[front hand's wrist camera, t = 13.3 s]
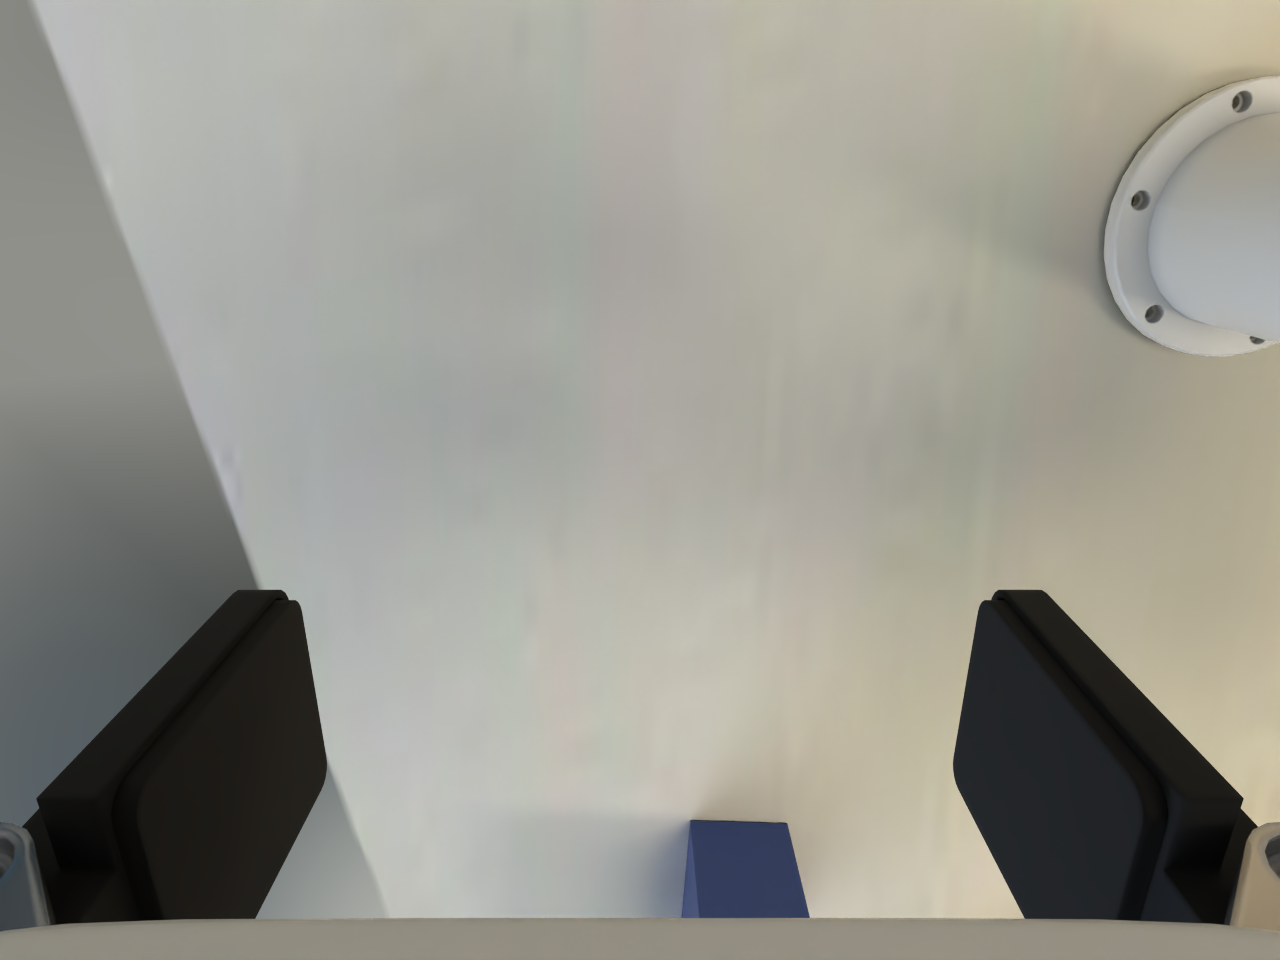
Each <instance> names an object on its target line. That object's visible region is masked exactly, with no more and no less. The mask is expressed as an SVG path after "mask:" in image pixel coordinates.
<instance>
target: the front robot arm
mask: <svg viewBox="0 0 1280 960" xmlns="http://www.w3.org/2000/svg"><path fill="white" fill-rule="evenodd" d="M1232 101H1233V104H1232ZM1133 196H1134V202H1133V203H1132V204H1131V201H1132V197H1133ZM1104 261H1105V268H1106V275H1107V280H1108V283H1109V286H1110V289H1111V291H1112V294H1113V297H1114V300H1115V302H1116V303H1117V305H1118V306H1119V308H1120V309H1121V311H1122V313H1123V314H1124V316H1125V317H1126V319H1127V320H1128V321H1129V322H1130V323H1131V324H1132V325H1133V326H1134V327H1136V328H1137V329H1138V330H1139V331H1140V332H1141V333H1142V334H1143V335H1145V336H1147V337H1148V338H1150V339H1152V340H1153V341H1155V342H1157V343H1159V344H1160V345H1163V346H1166V347H1169V348H1172V349H1174V350H1177V351H1180V352H1183V353H1188V354H1193V355H1198V356H1203V357H1229V356H1234V355H1239V354H1245V353H1250V352H1254V351H1257V350H1260V349H1263V348H1265V347H1268V346H1271V345H1274V344H1276V343H1279V344H1280V75H1276V76H1266V77H1258V78H1253V79H1248V80H1243V81H1239V82H1234V83H1231V84H1229V85H1226V86H1224V87H1221V88H1219V89H1216V90H1214V91H1211V92H1209V93H1206V94H1205V95H1203V96H1202V97H1200V98H1198V99H1197V100H1195V101H1193V102H1192V103H1190V104H1188V105H1187V106H1185V107H1184V108H1182V109H1181V110H1179V111H1178V112H1177V113H1176V114H1175V115H1174V116H1172V117H1171V118H1170V119H1169V120H1168V121H1167V122H1165V123H1164V124H1163V125H1162V126H1161V127H1160V128H1158V129H1157V131H1156V132H1155V133H1154V134H1153V135H1152V136H1151V138H1150V139H1149V140H1148V141H1147V142H1146V143H1145V145H1144V146H1143V147H1142V148H1141V149H1140V150H1139V152H1138V153H1137V155H1136V156H1135V158H1134V159H1133V161H1132V163H1131V164H1130V166H1129V167H1128V169H1127V171H1126V172H1125V174H1124V176H1123V177H1122V180H1121V182H1120V184H1119V187H1118V189H1117V191H1116V194H1115V196H1114V199H1113V201H1112V203H1111V208H1110V212H1109V216H1108V220H1107V224H1106V228H1105V242H1104ZM1147 310H1148V312H1147V313H1146V311H1147ZM326 771H327V759H326V752H325V746H324V740H323V734H322V729H321V723H320V717H319V711H318V705H317V699H316V693H315V687H314V681H313V675H312V669H311V663H310V657H309V651H308V645H307V639H306V633H305V627H304V621H303V615H302V610H301V607H300V605H299V603H298V602H297V601H296V600H289V599H288V597H287V595H286V593H285V592H284V591H282V590H238V591H236V592H235V593H233V594H232V595H231V596H230V597H229V598H228V599H227V600H226V602H225V603H224V604H223V605H222V606H221V607H220V608H219V609H218V610H217V611H216V612H215V613H214V614H213V615H212V616H211V617H210V618H209V619H208V620H207V621H206V622H205V623H204V624H203V626H202V627H201V628H200V629H199V630H198V631H197V632H196V633H195V634H194V635H193V636H192V637H191V638H190V639H189V640H188V641H187V642H186V643H185V644H184V645H183V646H182V647H181V648H180V649H179V650H178V652H177V653H176V654H175V655H174V656H173V657H172V658H171V659H170V660H169V661H168V662H167V663H166V664H165V665H164V666H163V667H162V668H161V669H160V670H159V671H158V672H157V673H156V674H155V676H154V677H153V678H152V679H151V680H150V681H149V682H148V683H147V684H146V685H145V686H144V687H143V688H142V689H141V690H140V691H139V692H138V693H137V694H136V695H135V696H134V697H133V698H132V699H131V701H130V702H129V703H128V704H127V705H126V706H125V707H124V708H123V709H122V710H121V711H120V712H119V713H118V714H117V715H116V716H115V717H114V718H113V719H112V720H111V721H110V722H109V723H108V724H107V726H106V727H105V728H104V729H103V730H102V731H101V732H100V733H99V734H98V735H97V736H96V737H95V738H94V739H93V740H92V741H91V742H90V743H89V744H88V745H87V746H86V747H85V748H84V749H83V750H82V752H81V753H80V754H79V755H78V756H77V757H76V758H75V759H74V760H73V761H72V762H71V763H70V764H69V765H68V766H67V767H66V768H65V769H64V770H63V771H62V772H61V773H60V774H59V776H58V777H57V778H56V779H55V780H54V781H53V782H52V783H51V784H50V785H49V786H48V787H47V788H46V789H45V790H44V791H43V792H42V793H41V794H40V795H39V796H38V797H37V802H38V805H39V809H38V810H37V812H36V813H35V814H34V815H33V816H32V817H31V818H30V819H29V820H28V821H27V822H26V823H25V824H24V825H23V826H22V827H20V826H18V825H16V824H14V823H4V822H0V960H1280V822H1276V823H1266V824H1264V825H1262V826H1260V827H1258V826H1257V825H1256V824H1255V823H1254V822H1253V821H1252V820H1251V819H1250V818H1249V817H1248V816H1247V815H1246V814H1245V813H1244V811H1243V810H1242V809H1241V805H1242V802H1243V799H1244V798H1243V797H1242V796H1241V795H1240V794H1239V793H1238V792H1237V791H1236V790H1235V789H1234V788H1233V787H1232V786H1231V785H1230V784H1229V783H1228V782H1227V781H1226V780H1225V779H1224V778H1223V777H1222V775H1221V774H1220V773H1219V772H1218V771H1217V770H1216V769H1215V768H1214V767H1213V766H1212V765H1211V764H1210V763H1209V762H1208V761H1207V760H1206V759H1205V758H1204V757H1203V756H1202V755H1201V754H1200V753H1199V752H1198V750H1197V749H1196V748H1195V747H1194V746H1193V745H1192V744H1191V743H1190V742H1189V741H1188V740H1187V739H1186V738H1185V737H1184V736H1183V735H1182V734H1181V733H1180V732H1179V731H1178V730H1177V729H1176V728H1175V727H1174V725H1173V724H1172V723H1171V722H1170V721H1169V720H1168V719H1167V718H1166V717H1165V716H1164V715H1163V714H1162V713H1161V712H1160V711H1159V710H1158V709H1157V708H1156V707H1155V706H1154V705H1153V704H1152V703H1151V702H1150V700H1149V699H1148V698H1147V697H1146V696H1145V695H1144V694H1143V693H1142V692H1141V691H1140V690H1139V689H1138V688H1137V687H1136V686H1135V685H1134V684H1133V683H1132V682H1131V681H1130V680H1129V679H1128V678H1127V677H1126V675H1125V674H1124V673H1123V672H1122V671H1121V670H1120V669H1119V668H1118V667H1117V666H1116V665H1115V664H1114V663H1113V662H1112V661H1111V660H1110V659H1109V658H1108V657H1107V656H1106V655H1105V654H1104V653H1103V652H1102V650H1101V649H1100V648H1099V647H1098V646H1097V645H1096V644H1095V643H1094V642H1093V641H1092V640H1091V639H1090V638H1089V637H1088V636H1087V635H1086V634H1085V633H1084V632H1083V631H1082V630H1081V629H1080V628H1079V627H1078V625H1077V624H1076V623H1075V622H1074V621H1073V620H1072V619H1071V618H1070V617H1069V616H1068V615H1067V614H1066V613H1065V612H1064V611H1063V610H1062V609H1061V608H1060V607H1059V606H1058V605H1057V604H1056V603H1055V602H1054V600H1053V599H1052V598H1051V597H1050V596H1049V595H1048V594H1047V593H1045V592H1044V591H1043V590H998V591H996V592H995V593H994V595H993V597H992V599H991V600H984V601H983V602H982V603H981V605H980V607H979V610H978V615H977V621H976V627H975V633H974V639H973V645H972V651H971V657H970V663H969V669H968V675H967V681H966V687H965V693H964V699H963V705H962V711H961V717H960V723H959V729H958V734H957V740H956V746H955V752H954V759H953V771H954V777H955V781H956V785H957V787H958V789H959V791H960V793H961V795H962V797H963V799H964V801H965V803H966V805H967V807H968V809H969V811H970V813H971V815H972V817H973V819H974V821H975V823H976V824H977V826H978V828H979V830H980V832H981V834H982V836H983V838H984V840H985V842H986V844H987V846H988V848H989V850H990V852H991V854H992V856H993V858H994V859H995V861H996V863H997V865H998V867H999V869H1000V871H1001V873H1002V875H1003V877H1004V879H1005V881H1006V883H1007V885H1008V887H1009V889H1010V891H1011V893H1012V894H1013V896H1014V898H1015V900H1016V902H1017V904H1018V906H1019V908H1020V910H1021V912H1022V914H1023V916H1024V918H1025V919H956V918H326V919H325V918H324V919H255V918H256V916H257V914H258V912H259V910H260V908H261V906H262V904H263V902H264V900H265V898H266V896H267V894H268V893H269V891H270V889H271V887H272V885H273V883H274V881H275V879H276V877H277V875H278V873H279V871H280V869H281V867H282V865H283V863H284V861H285V859H286V858H287V856H288V854H289V852H290V850H291V848H292V846H293V844H294V842H295V840H296V838H297V836H298V834H299V832H300V830H301V828H302V826H303V824H304V823H305V821H306V819H307V817H308V815H309V813H310V811H311V809H312V807H313V805H314V803H315V801H316V799H317V797H318V795H319V793H320V791H321V789H322V787H323V784H324V781H325V777H326Z"/></svg>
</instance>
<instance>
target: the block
mask: <svg viewBox="0 0 1280 960" xmlns="http://www.w3.org/2000/svg"><path fill="white" fill-rule="evenodd" d="M682 918H810V917H809V913H808V908H807V904H806V900H805V896H804V892H803V887H802V883H801V879H800V875H799V871H798V867H797V862H796V858H795V854H794V850H793V846H792V842H791V837H790V833H789V829H788V825H787V823H760V822H727V821H695V820H691V821H690V829H689V841H688V852H687V863H686V874H685V885H684V896H683V908H682Z"/></svg>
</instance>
